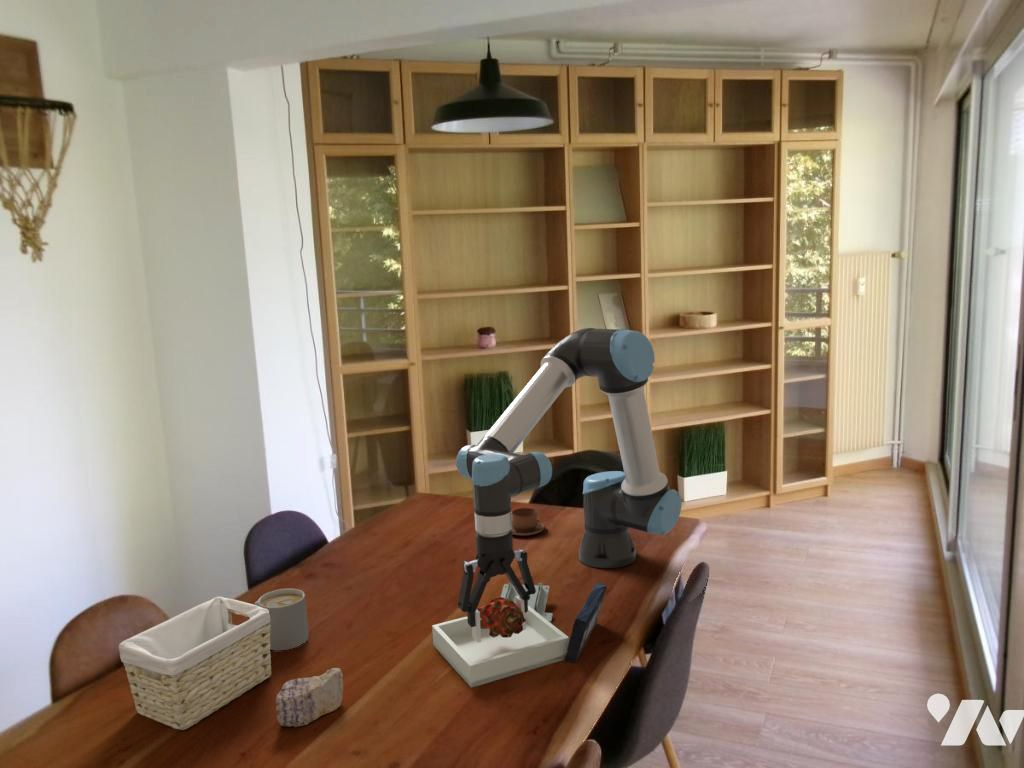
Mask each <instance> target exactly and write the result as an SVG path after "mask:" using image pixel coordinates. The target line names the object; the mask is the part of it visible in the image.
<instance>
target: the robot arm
mask: <svg viewBox="0 0 1024 768" xmlns="http://www.w3.org/2000/svg"><path fill="white" fill-rule="evenodd" d="M655 357H656V356H655V352H654V347H653V345H652V343H651V341H650V339H649V338H648V337H647V336H646V335H645V334H643V333H642V332H640V331H637V330H630V329H627V328H620V329H616V328H615V329H613V328H596V327H595V328H594V327H584V328H580V329H578V330H576V331H573V332H571V333H570V334H568V335H567V336H565V337H564V338H562V339H560V340H559V341H558V343H556V344H555V345H554V346H553V347H552V348H551V349H550V350H548V352H547V353H546V354H545V356H543V358H542V359H541V360H540V368H539V369H538V370H537V371H536V373H535V374H534V375H533V376H532V378H530V380H529V381H528V382H527V384H526V385H525V386H524V387H523V389H521V390H520V392H519V394H518V395H517V396H515V398H514V399H513V401H512V402H510V404H509V405H508V407H507V408H506V409H505V410H504V411H503V413H502V414H500V416H499V418H498V419H497V420H496V421H495V422H494V423H493V425H492V426H491V427H490V429H489V430H488V431H487V432H486V433H485V435H484V436H483V438H481V440H480V441H479V442H478V443H477V444H467V445H464V446H462V447H461V449H460V450H459V451H458V453H457V455H456V459H455V466H456V469H457V471H458V473H459V475H461V476H462V477H464V478H466V479H470V480H471V483H472V496H473V507H474V508H473V510H474V528H475V529H474V530H475V531H476V533H475V548H476V557H475V559H474V560H470V561H467V560H464V561H463V562H462V569H463V571H462V572H463V574H462V578H461V584H460V585H461V586H460V589H459V596H458V600H457V601H458V602H457V607H458V609H460V610H461V611H462V612H463V613H466V614H467V615H466V617H467V620H468V624H469V625H470V626H471V627H472V637H473V638H474V639H475V640H476V641H477V642H478V643H479V642H481V629H480V612H479V611H478V610H477V609H478V608H479V604H480V601H481V599H482V596H483V594H484V591H485V589H486V586H487V584H488V583H489V582H490V580H491V578H494V577H496V576H498V575H500V576H502V575H506V577H507V579H508V580H509V581H510V583H512V585H513V586H514V588H515V589H516V591H517V593H518V594H519V596H515V604H516V605H517V606H518V607H519V608H520V609H521V611H522V612H523V615H524V618H525V613H526V612H527V611H528V600H529V599H530V596H529V595H531V594H535V592H536V589H535V586H534V585H535V583H534V580H533V577H532V573H531V571H530V567H529V564H528V552H527V551H526V550H525V549H523V548H521V547H520V548H518V549H517V550H514V549H513V547H514V544H513V543H514V542H513V541H514V539H513V534H512V531H511V529H512V498H513V497H514V498H515V497H517V496H518V495H522V494H525V493H528V492H531V491H534V490H538V489H539V488H541V487H543V486H545V485H547V484H548V483H550V481H551V479H552V475H553V466H552V463H551V460H550V459H549V458H548V456H546V454H545V453H542V452H540V451H534V452H533V451H532V452H527V453H526V454H519V453H515V452H516V450H517V449H518V448H519V446H521V444H522V443H523V441H525V439H526V437H528V435H529V434H530V433H531V431H532V430H533V429H534V428H535V426H536V425H537V424H538V422H539V421H540V420H541V419H542V418H543V417H544V415H545V414H546V412H547V411H549V409H550V408H551V406H552V405H553V404H554V402H555V401H556V400H557V398H558V397H559V396H560V395H561V394H562V393H563V391H564V389H566V388H569V387H572V386H574V384H575V383H576V382H577V381H578V379H581V378H585V377H592V378H596V379H597V382H598V386H599V390H600V391H601V393H603V394H605V395H607V397H608V403H609V408H610V412H611V417H612V422H613V426H614V431H615V435H616V439H617V445H618V449H619V454H620V459H621V464H622V467H623V471H621V470H619V471H618V470H615V471H614V470H611V471H603V472H597V473H594V474H591V475H587V477H586V478H585V479H584V480H583V485H582V486H583V489H582V490H583V491H582V498H583V501H582V502H583V519H584V525H583V526H584V532H583V535H582V537H581V541H580V545H579V548H578V559H579V561H580V562H581V563H582V564H584V565H586V566H589V567H593V568H597V569H617V568H618V569H619V568H622V567H626V566H629V565H631V564H633V563H634V562H635V561H636V559H637V554H636V552H637V551H636V547H635V544H634V542H633V539H632V536H631V533H630V530H629V529H633V530H637V531H640V532H645V533H648V534H650V535H651V534H654V535H659V536H660V535H664V536H665V535H666V534H668V533H669V532H671V531H672V530H673V529H674V527H675V526H676V524H677V522H678V520H679V518H680V515H681V512H682V502H683V501H682V496H681V493H680V492H679V491H677V490H676V489H675V488H674V489H673V488H671V489H670V486H669V480H668V477H667V476H666V475H665V473H663V472H661V471H660V467H659V462H658V456H657V451H656V446H655V441H654V436H653V430H652V425H651V420H650V415H649V409H648V405H647V400H646V395H645V394H646V393H645V390H644V388H645V386H646V385H647V384H648V383H649V378H650V377H651V375H652V373H653V371H654V365H653V364H655V361H656V360H655ZM514 560H516V561H517V566H518V569H519V573H520V575H521V579H522V581H523V582H522V583H523V584H522V583H521V581H520V579H519V578H518V576H517V575H516V573H515V571H514V569H513V568H512V566H511V565H512V563H513V562H514ZM477 567H478V568H479V569H478V571H477V574H476V575H477V578H476V579H475V582H474V577H475V576H474V573H475V572H476V568H477ZM473 582H474V583H473ZM473 584H474V585H473ZM522 585H525V588H524V587H523V586H522ZM522 625H523V630H525V622H524V623H523V624H522Z"/></svg>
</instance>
